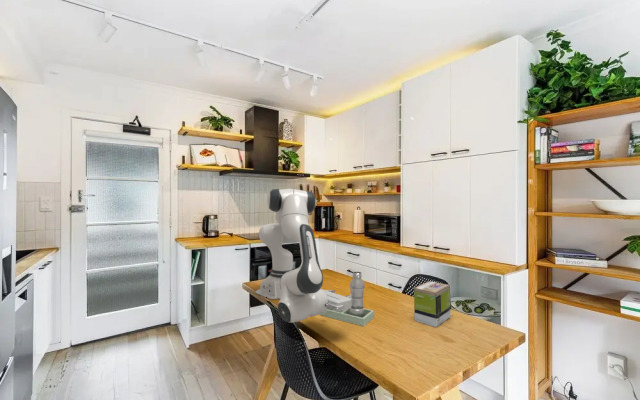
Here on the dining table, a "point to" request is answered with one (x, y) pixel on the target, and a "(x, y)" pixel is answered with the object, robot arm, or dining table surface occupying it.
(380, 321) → the dining table surface
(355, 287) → the plastic bottle
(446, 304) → the tea box
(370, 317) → the tray
